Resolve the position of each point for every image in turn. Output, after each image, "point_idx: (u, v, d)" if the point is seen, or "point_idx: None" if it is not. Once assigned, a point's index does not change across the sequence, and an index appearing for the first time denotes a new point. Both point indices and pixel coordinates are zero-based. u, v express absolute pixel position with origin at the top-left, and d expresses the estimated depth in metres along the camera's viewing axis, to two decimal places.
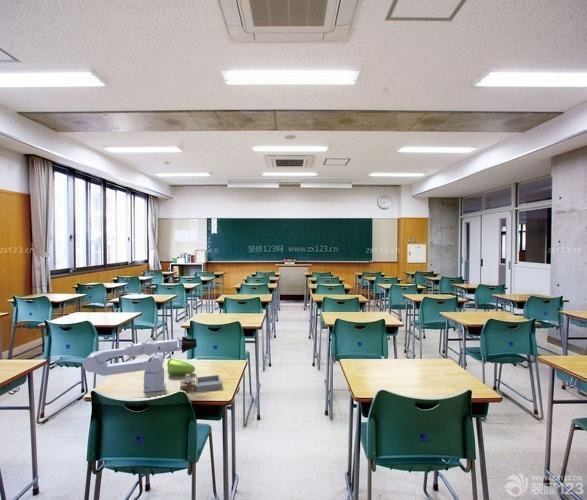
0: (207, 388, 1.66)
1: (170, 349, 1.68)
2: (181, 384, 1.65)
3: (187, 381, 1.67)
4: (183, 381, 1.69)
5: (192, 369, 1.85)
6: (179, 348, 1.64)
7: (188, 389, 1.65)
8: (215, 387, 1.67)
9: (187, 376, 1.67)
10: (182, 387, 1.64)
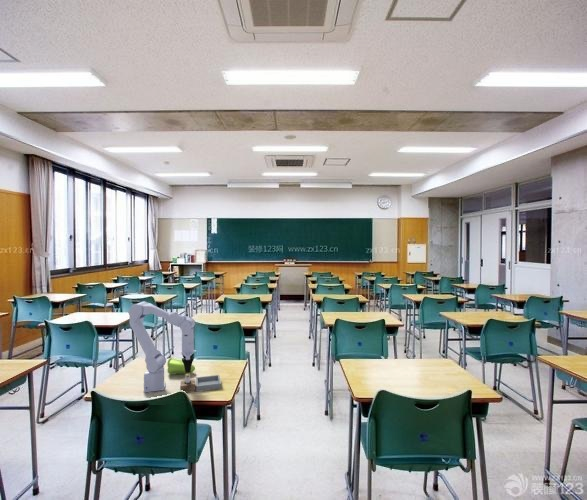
0: (207, 388, 1.66)
1: (185, 346, 1.65)
2: (181, 384, 1.65)
3: (187, 381, 1.67)
4: (183, 381, 1.69)
5: (192, 369, 1.86)
6: (187, 357, 1.61)
7: (188, 389, 1.65)
8: (215, 387, 1.67)
9: (187, 376, 1.67)
10: (182, 387, 1.64)
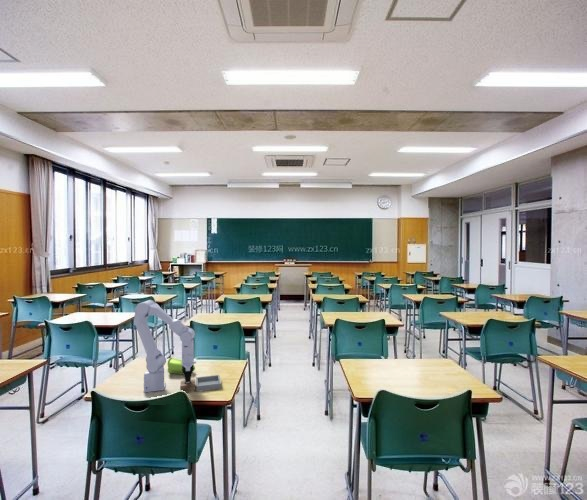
0: (207, 388, 1.66)
1: (185, 357, 1.65)
2: (181, 384, 1.65)
3: None
4: (183, 381, 1.69)
5: None
6: (188, 369, 1.61)
7: (188, 389, 1.65)
8: (215, 387, 1.67)
9: None
10: (182, 387, 1.64)
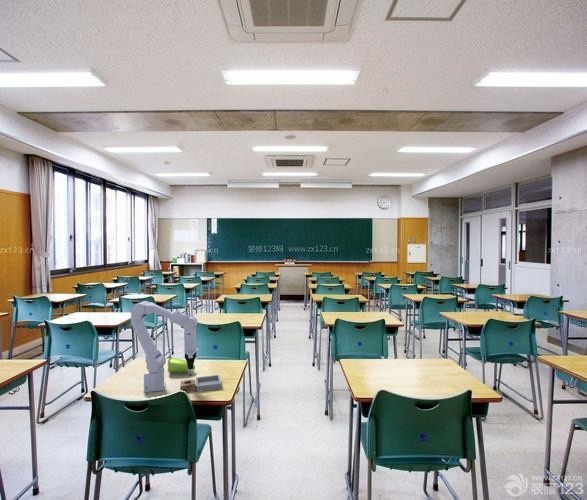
0: (207, 388, 1.66)
1: (187, 344, 1.65)
2: (181, 384, 1.65)
3: None
4: (183, 381, 1.69)
5: None
6: (190, 356, 1.61)
7: (188, 389, 1.65)
8: (215, 387, 1.67)
9: None
10: (182, 387, 1.64)
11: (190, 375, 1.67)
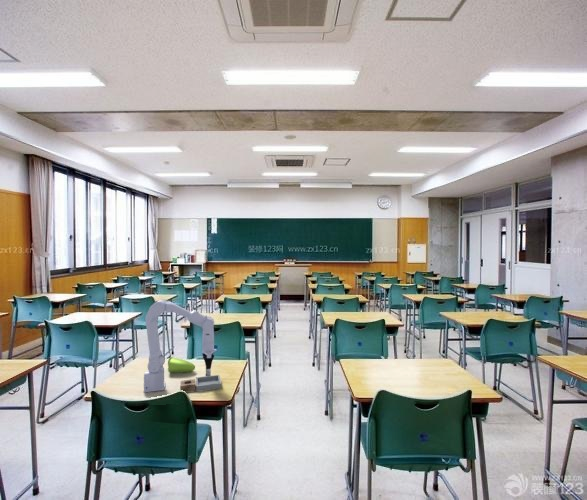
0: (207, 388, 1.66)
1: (206, 345, 1.69)
2: (181, 384, 1.65)
3: None
4: (183, 381, 1.69)
5: (192, 367, 1.88)
6: (209, 356, 1.65)
7: (188, 389, 1.65)
8: (215, 387, 1.67)
9: None
10: (182, 387, 1.64)
11: (208, 375, 1.71)
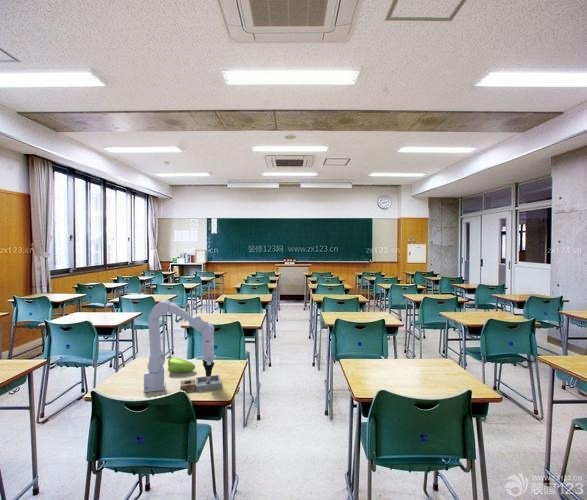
0: (207, 388, 1.66)
1: (206, 351, 1.69)
2: (181, 384, 1.65)
3: (208, 377, 1.71)
4: (183, 381, 1.69)
5: (192, 367, 1.88)
6: (209, 363, 1.65)
7: (188, 389, 1.65)
8: (215, 387, 1.67)
9: None
10: (182, 387, 1.64)
11: (208, 383, 1.71)
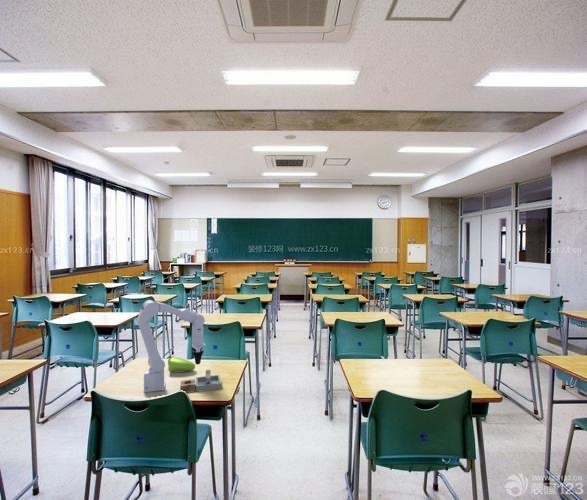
0: (207, 388, 1.66)
1: (195, 339, 1.77)
2: (181, 384, 1.65)
3: (207, 377, 1.71)
4: (183, 381, 1.69)
5: (192, 366, 1.89)
6: (198, 350, 1.73)
7: (188, 389, 1.65)
8: (215, 387, 1.67)
9: (207, 372, 1.71)
10: (182, 387, 1.64)
11: (208, 383, 1.71)
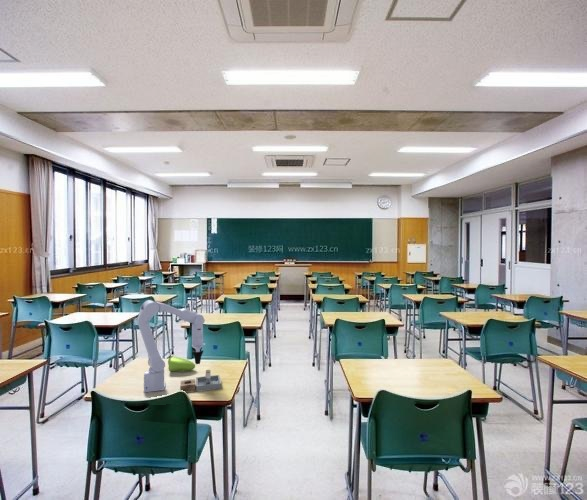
0: (207, 388, 1.66)
1: (195, 339, 1.77)
2: (181, 384, 1.65)
3: (207, 377, 1.71)
4: (183, 381, 1.69)
5: (192, 366, 1.90)
6: (198, 350, 1.73)
7: (188, 389, 1.65)
8: (215, 387, 1.67)
9: (207, 372, 1.71)
10: (182, 387, 1.64)
11: (208, 383, 1.71)
